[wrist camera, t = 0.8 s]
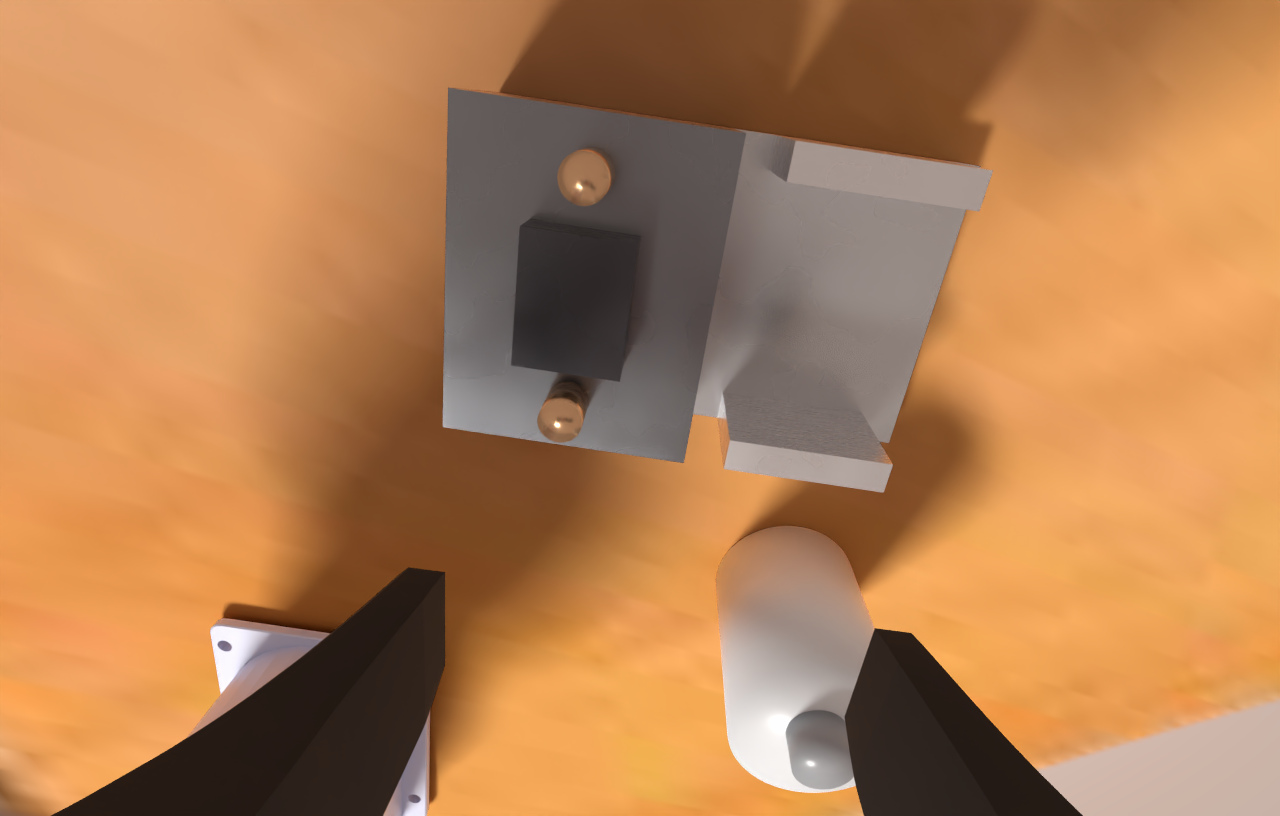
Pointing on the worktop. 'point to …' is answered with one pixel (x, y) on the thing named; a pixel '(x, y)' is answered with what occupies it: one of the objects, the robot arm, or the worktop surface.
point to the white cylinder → (791, 656)
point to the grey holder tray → (688, 284)
